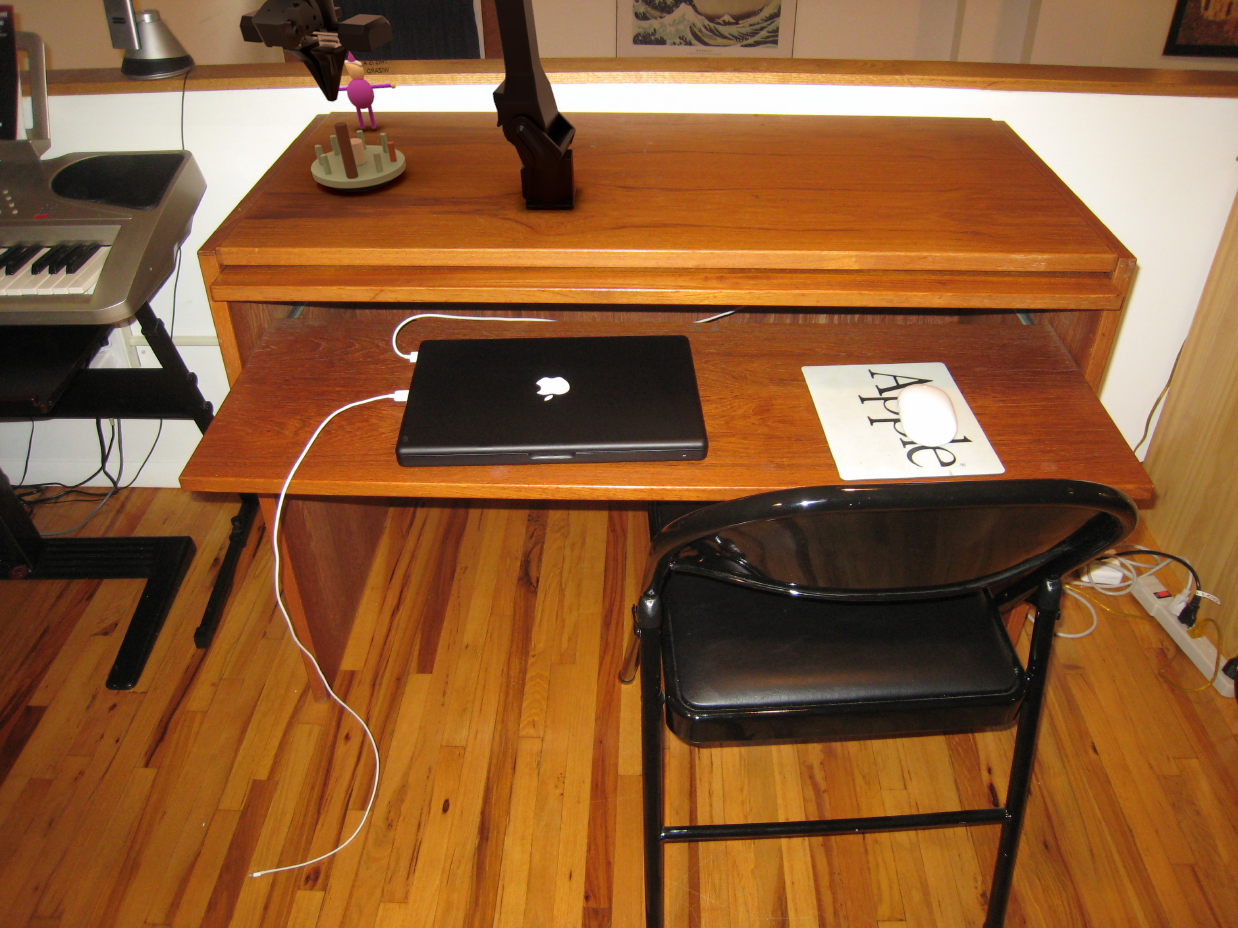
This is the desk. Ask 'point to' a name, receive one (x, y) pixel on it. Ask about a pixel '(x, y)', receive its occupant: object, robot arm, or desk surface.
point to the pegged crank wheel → (356, 161)
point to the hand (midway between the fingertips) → (332, 100)
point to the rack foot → (363, 187)
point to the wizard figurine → (362, 88)
